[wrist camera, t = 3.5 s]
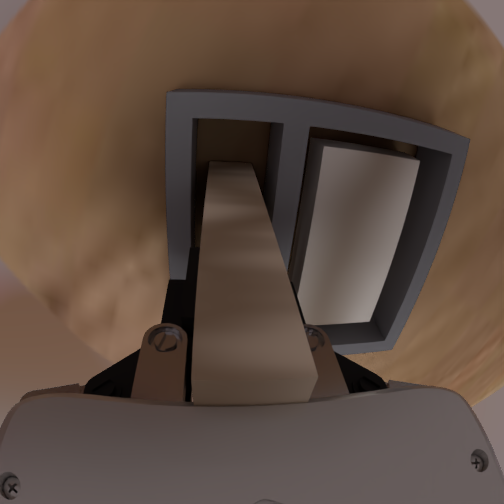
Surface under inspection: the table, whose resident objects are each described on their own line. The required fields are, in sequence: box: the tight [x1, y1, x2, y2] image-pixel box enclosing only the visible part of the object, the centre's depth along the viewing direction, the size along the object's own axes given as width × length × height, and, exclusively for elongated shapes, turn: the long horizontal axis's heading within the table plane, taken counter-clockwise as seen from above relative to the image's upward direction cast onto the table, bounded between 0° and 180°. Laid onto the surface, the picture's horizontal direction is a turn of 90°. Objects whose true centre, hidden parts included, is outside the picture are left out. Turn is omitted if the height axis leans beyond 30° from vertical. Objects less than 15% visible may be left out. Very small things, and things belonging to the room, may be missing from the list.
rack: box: [165, 89, 470, 355], centre depth 16 cm, size 14×14×3 cm
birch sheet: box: [191, 161, 318, 406], centre depth 12 cm, size 2×7×12 cm, turn 175°
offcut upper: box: [292, 139, 420, 325], centre depth 16 cm, size 5×10×2 cm, turn 175°
